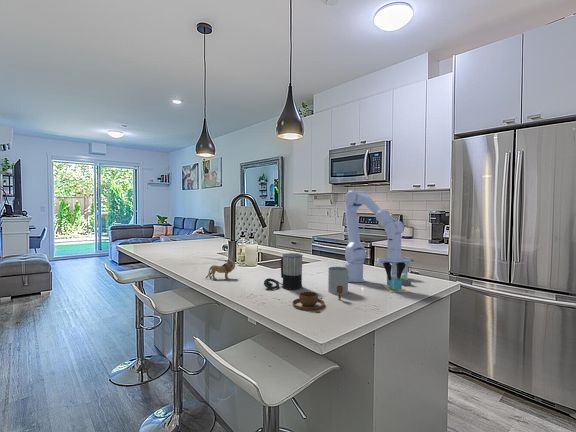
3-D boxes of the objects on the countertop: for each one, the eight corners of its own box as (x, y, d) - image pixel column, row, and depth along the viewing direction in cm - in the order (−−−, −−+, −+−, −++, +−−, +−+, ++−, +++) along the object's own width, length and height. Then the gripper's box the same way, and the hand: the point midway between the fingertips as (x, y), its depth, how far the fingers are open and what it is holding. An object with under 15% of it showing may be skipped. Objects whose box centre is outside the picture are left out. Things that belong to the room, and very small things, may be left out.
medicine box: (405, 277, 166) (405, 260, 166) (407, 279, 162) (407, 262, 162) (389, 277, 167) (389, 260, 167) (391, 279, 163) (391, 261, 162)
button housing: (399, 285, 150) (399, 281, 150) (395, 282, 155) (395, 278, 155) (410, 285, 150) (410, 281, 150) (406, 282, 155) (406, 278, 155)
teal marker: (393, 289, 137) (393, 279, 137) (385, 283, 148) (385, 274, 148) (401, 289, 137) (401, 279, 137) (392, 283, 148) (393, 274, 148)
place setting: (292, 299, 130) (292, 284, 129) (342, 299, 129) (342, 285, 129) (292, 314, 112) (292, 297, 112) (350, 315, 112) (350, 298, 112)
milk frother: (306, 287, 146) (307, 254, 145) (282, 294, 135) (282, 258, 134) (284, 281, 156) (284, 251, 155) (259, 287, 145) (259, 254, 144)
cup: (349, 290, 142) (349, 267, 141) (346, 295, 134) (346, 271, 133) (330, 288, 144) (330, 266, 144) (326, 293, 137) (326, 269, 136)
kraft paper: (390, 292, 138) (390, 291, 138) (382, 285, 150) (382, 284, 150) (411, 292, 138) (411, 291, 138) (401, 285, 150) (401, 284, 150)
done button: (401, 281, 151) (401, 274, 151) (398, 279, 154) (398, 273, 154) (407, 281, 151) (408, 274, 151) (405, 279, 154) (405, 273, 154)
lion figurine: (234, 276, 167) (234, 259, 166) (235, 278, 162) (235, 260, 161) (205, 277, 164) (205, 260, 163) (205, 280, 158) (205, 262, 158)
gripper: (380, 250, 138) (380, 281, 138) (414, 250, 138) (413, 281, 138) (375, 247, 145) (375, 278, 145) (408, 247, 145) (407, 278, 145)
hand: (393, 279), depth 142 cm, fingers closed on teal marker, 3 cm apart
